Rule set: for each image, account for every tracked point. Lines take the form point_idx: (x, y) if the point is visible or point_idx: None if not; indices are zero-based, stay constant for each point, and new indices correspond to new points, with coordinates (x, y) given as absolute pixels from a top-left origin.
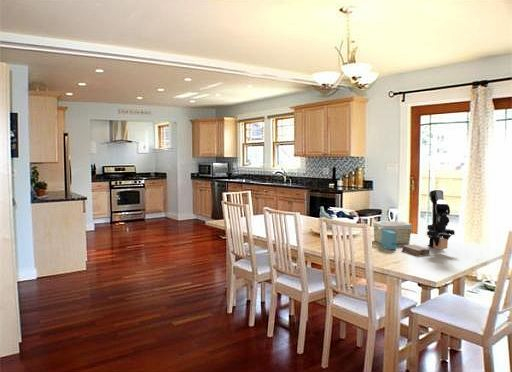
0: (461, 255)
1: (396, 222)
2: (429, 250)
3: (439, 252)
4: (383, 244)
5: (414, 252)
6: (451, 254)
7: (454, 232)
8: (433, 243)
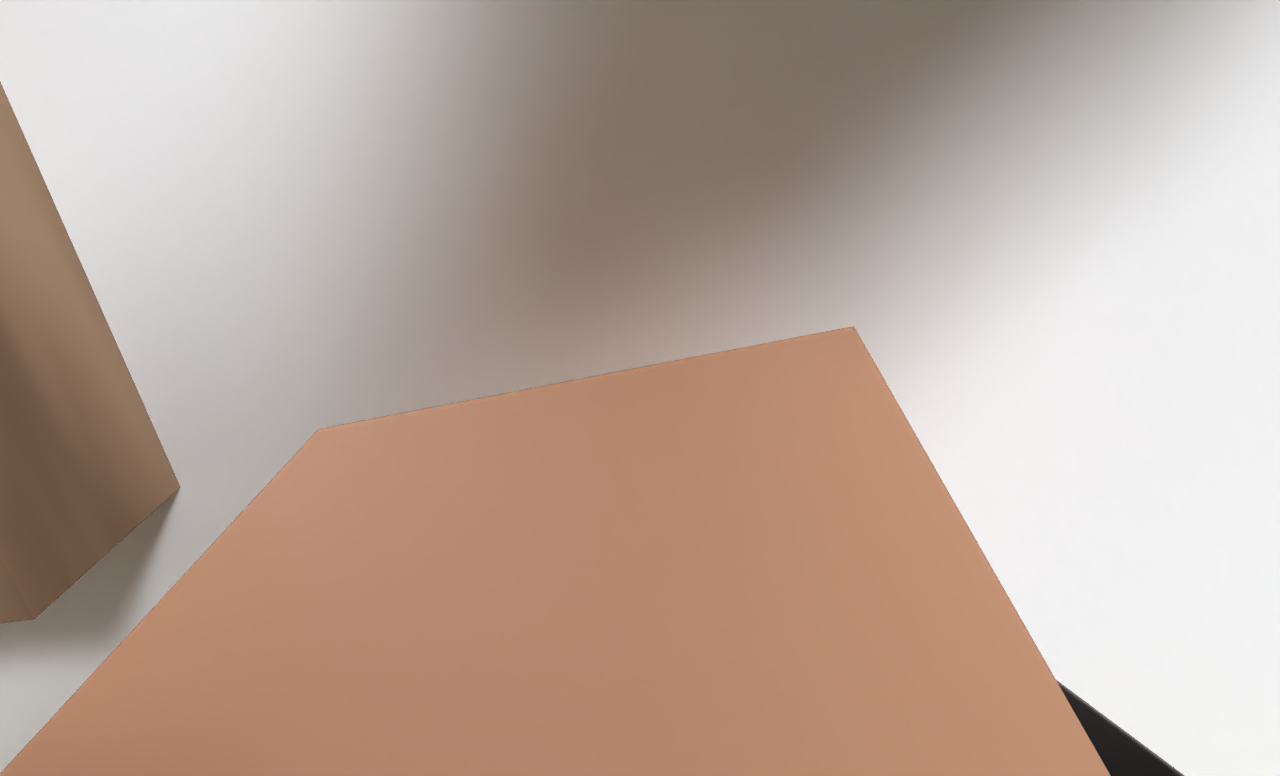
0: (1239, 752)
1: None
2: (68, 583)
3: (770, 262)
4: None
5: None
6: (1010, 600)
7: None
8: (211, 559)
